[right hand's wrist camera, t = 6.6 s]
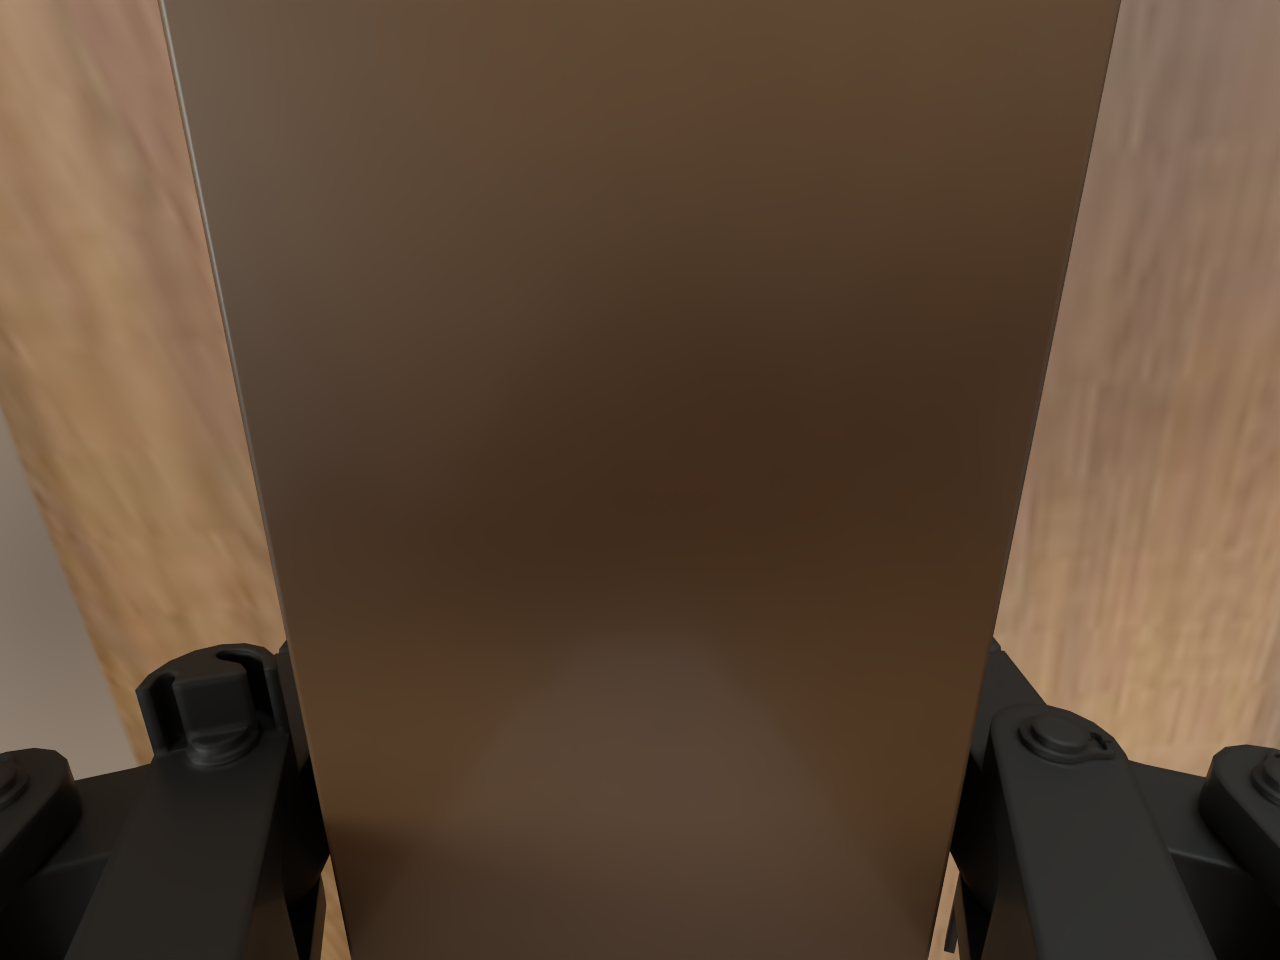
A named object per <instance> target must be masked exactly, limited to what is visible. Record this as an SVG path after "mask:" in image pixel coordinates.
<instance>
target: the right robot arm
mask: <svg viewBox="0 0 1280 960" xmlns="http://www.w3.org/2000/svg"><path fill="white" fill-rule="evenodd" d="M135 691H136V695H137V698H138V702H139V705H140V708H141V712H142V715H143V718H144V722H145V725H146V728H147V732H148V735H149V739H150V742H151V745H152V749H153V752H154V757H153V759H152V762H151V763H150V764H147V765H143V766H140V767H136V768H132V769H127V770H122V771H118V772H113V773H109V774H104V775H99V776H94V777H90V778H85V779H80V780H76V781H74V778H73V775H72V772H71V770H70V767H69V764H68V761H67V759H66V758H65V757H63V756H62V755H61V754H59V753H58V752H57V751H55V750H47V749H39V748H30V749H23V750H17V751H10V752H5V753H1V754H0V960H320V958H321V949H322V940H323V930H324V921H325V912H326V899H325V892H324V886H323V881H322V877H321V872H322V870H323V868H324V866H325V863H326V861H327V859H328V857H329V855H330V851H329V846H328V841H327V836H326V832H325V827H324V822H323V817H322V812H321V807H320V802H319V797H318V792H317V787H316V782H315V777H314V772H313V767H312V762H311V757H310V752H309V747H308V742H307V737H306V733H305V728H304V723H303V718H302V713H301V708H300V703H299V698H298V693H297V688H296V683H295V678H294V673H293V668H292V663H291V658H290V653H289V648H288V643H287V640H286V641H285V642H284V644H283V645H282V646H281V648H280V649H279V654H275V655H273V654H272V653H271V652H269V651H268V650H267V649H266V648H264V647H261V646H256V645H251V644H246V643H241V644H221V645H217V646H213V647H208V648H204V649H200V650H195V651H193V652H190V653H188V654H186V655H183V656H181V657H178V658H176V659H174V660H171V661H169V662H168V663H166V664H164V665H163V666H161V667H160V668H158V669H157V670H155V671H154V672H152V673H151V674H149V675H148V676H147V677H146V678H145V680H144V681H143V682H142V683H141V684H140V685H139V686H138V688H137V689H136V690H135ZM950 852H951V854H952V856H953V858H954V861H955V863H956V865H957V867H958V869H959V871H960V872H959V877H958V881H957V886H956V891H955V896H954V900H953V905H952V910H951V915H950V919H949V924H948V929H947V934H946V940H945V947H944V951H946V952H950V953H954V951H955V947H956V942H957V938H958V947H959V956H960V960H1280V750H1277V749H1274V748H1267V747H1260V746H1253V745H1238V746H1230V747H1225V748H1223V749H1222V750H1221V751H1219V752H1218V753H1217V754H1215V755H1214V756H1213V759H1212V762H1211V765H1210V767H1209V770H1208V773H1207V776H1206V777H1201V776H1196V775H1192V774H1187V773H1182V772H1178V771H1173V770H1168V769H1164V768H1159V767H1154V766H1149V765H1145V764H1141V763H1138V762H1134V761H1130V760H1128V758H1127V756H1126V754H1125V752H1124V751H1123V750H1122V748H1121V747H1120V746H1119V744H1118V743H1117V741H1116V740H1115V739H1114V737H1112V736H1111V735H1110V734H1108V733H1107V732H1106V731H1104V730H1103V729H1102V728H1100V727H1099V726H1098V725H1096V724H1095V723H1094V722H1092V721H1090V720H1087V719H1085V718H1083V717H1081V716H1079V715H1077V714H1075V713H1073V712H1071V711H1068V710H1064V709H1060V708H1056V707H1053V706H1049V705H1046V703H1045V702H1044V701H1043V699H1042V698H1041V697H1040V696H1039V694H1038V693H1037V692H1036V691H1035V689H1034V688H1033V687H1032V686H1031V684H1030V683H1029V682H1028V680H1027V679H1026V678H1025V677H1024V675H1023V674H1022V673H1021V672H1020V670H1019V669H1018V668H1017V666H1016V665H1015V664H1014V663H1013V661H1012V660H1011V659H1010V658H1009V656H1008V655H1007V654H1006V653H1005V651H1001V646H1000V645H999V644H998V642H997V641H996V640H995V639H994V637H993V639H992V644H991V649H990V653H989V658H988V663H987V668H986V673H985V678H984V683H983V688H982V693H981V698H980V703H979V708H978V713H977V718H976V723H975V728H974V733H973V738H972V743H971V748H970V753H969V758H968V763H967V768H966V773H965V778H964V783H963V788H962V793H961V797H960V802H959V807H958V812H957V817H956V822H955V827H954V832H953V837H952V842H951V847H950Z"/></svg>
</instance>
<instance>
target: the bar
mask: <svg viewBox="0 0 1280 960" xmlns="http://www.w3.org/2000/svg"><path fill="white" fill-rule="evenodd" d="M1120 3H1121V0H158V5H159V10H160V15H161V20H162V25H163V30H164V35H165V40H166V44H167V49H168V54H169V59H170V64H171V69H172V74H173V79H174V84H175V89H176V94H177V99H178V104H179V109H180V114H181V119H182V124H183V129H184V134H185V139H186V143H187V148H188V153H189V158H190V163H191V168H192V173H193V178H194V183H195V188H196V193H197V198H198V203H199V208H200V213H201V218H202V223H203V228H204V233H205V238H206V242H207V247H208V252H209V257H210V262H211V267H212V272H213V277H214V282H215V287H216V292H217V297H218V302H219V307H220V312H221V317H222V322H223V327H224V332H225V337H226V341H227V346H228V351H229V356H230V361H231V366H232V371H233V376H234V381H235V386H236V391H237V396H238V401H239V406H240V411H241V416H242V421H243V426H244V431H245V436H246V440H247V445H248V450H249V455H250V460H251V465H252V470H253V475H254V480H255V485H256V490H257V495H258V500H259V505H260V510H261V515H262V520H263V525H264V530H265V535H266V539H267V544H268V549H269V554H270V559H271V564H272V569H273V574H274V579H275V584H276V589H277V594H278V599H279V604H280V609H281V614H282V619H283V624H284V629H285V634H286V638H287V643H288V648H289V653H290V658H291V663H292V668H293V673H294V678H295V683H296V688H297V693H298V698H299V703H300V708H301V713H302V718H303V723H304V728H305V733H306V737H307V742H308V747H309V752H310V757H311V762H312V767H313V772H314V777H315V782H316V787H317V792H318V797H319V802H320V807H321V812H322V817H323V822H324V827H325V832H326V836H327V841H328V846H329V851H330V856H331V861H332V866H333V871H334V876H335V881H336V886H337V891H338V896H339V901H340V906H341V911H342V916H343V921H344V926H345V931H346V935H347V940H348V945H349V950H350V955H351V960H928V956H929V951H930V946H931V942H932V937H933V932H934V927H935V922H936V917H937V912H938V907H939V902H940V897H941V892H942V887H943V882H944V877H945V872H946V867H947V862H948V857H949V852H950V847H951V842H952V837H953V832H954V827H955V822H956V817H957V812H958V807H959V802H960V797H961V793H962V788H963V783H964V778H965V773H966V768H967V763H968V758H969V753H970V748H971V743H972V738H973V733H974V728H975V723H976V718H977V713H978V708H979V703H980V698H981V693H982V688H983V683H984V678H985V673H986V668H987V663H988V658H989V653H990V649H991V644H992V639H993V634H994V629H995V624H996V619H997V614H998V609H999V604H1000V599H1001V594H1002V589H1003V584H1004V579H1005V574H1006V569H1007V564H1008V559H1009V554H1010V549H1011V544H1012V539H1013V534H1014V529H1015V524H1016V519H1017V514H1018V509H1019V504H1020V500H1021V495H1022V490H1023V485H1024V480H1025V475H1026V470H1027V465H1028V460H1029V455H1030V450H1031V445H1032V440H1033V435H1034V430H1035V425H1036V420H1037V415H1038V410H1039V405H1040V400H1041V395H1042V390H1043V385H1044V380H1045V375H1046V370H1047V365H1048V360H1049V355H1050V351H1051V346H1052V341H1053V336H1054V331H1055V326H1056V321H1057V316H1058V311H1059V306H1060V301H1061V296H1062V291H1063V286H1064V281H1065V276H1066V271H1067V266H1068V261H1069V256H1070V251H1071V246H1072V241H1073V236H1074V231H1075V226H1076V221H1077V216H1078V211H1079V206H1080V202H1081V197H1082V192H1083V187H1084V182H1085V177H1086V172H1087V167H1088V162H1089V157H1090V152H1091V147H1092V142H1093V137H1094V132H1095V127H1096V122H1097V117H1098V112H1099V107H1100V102H1101V97H1102V92H1103V87H1104V82H1105V77H1106V72H1107V67H1108V62H1109V57H1110V53H1111V48H1112V43H1113V38H1114V33H1115V28H1116V23H1117V18H1118V13H1119V8H1120Z"/></svg>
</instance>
